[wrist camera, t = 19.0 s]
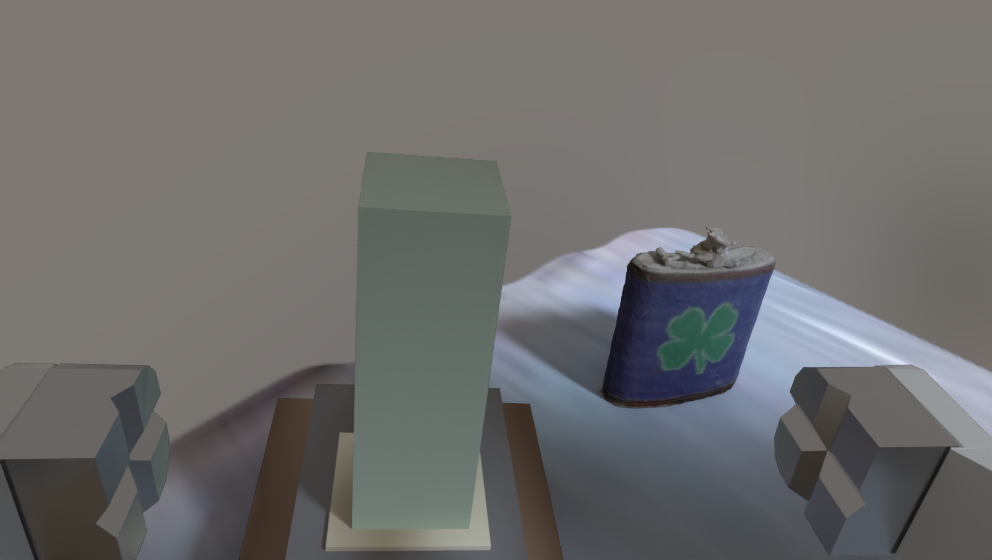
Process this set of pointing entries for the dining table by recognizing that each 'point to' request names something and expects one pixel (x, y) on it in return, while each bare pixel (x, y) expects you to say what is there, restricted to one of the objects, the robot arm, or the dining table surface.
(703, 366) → the flask
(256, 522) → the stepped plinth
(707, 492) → the dining table surface
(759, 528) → the dining table surface
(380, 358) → the sage column
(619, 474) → the dining table surface
